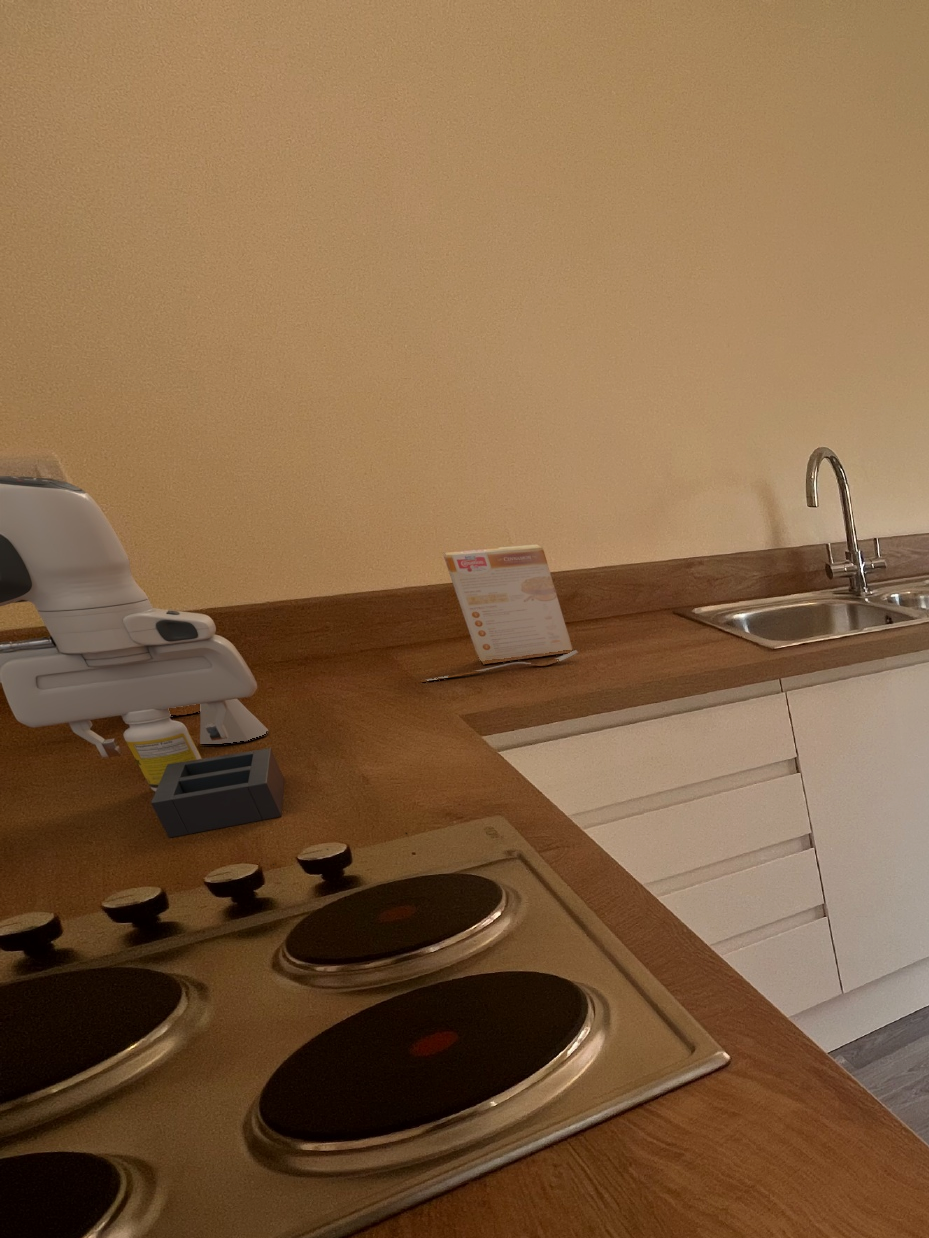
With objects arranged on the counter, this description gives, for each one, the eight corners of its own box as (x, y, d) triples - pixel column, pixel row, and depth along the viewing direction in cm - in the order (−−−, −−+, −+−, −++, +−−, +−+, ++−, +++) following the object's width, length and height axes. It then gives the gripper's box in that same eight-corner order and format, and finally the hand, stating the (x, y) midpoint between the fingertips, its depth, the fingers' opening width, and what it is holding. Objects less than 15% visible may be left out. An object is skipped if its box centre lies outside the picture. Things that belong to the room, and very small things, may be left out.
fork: (420, 680, 164) (416, 670, 163) (578, 658, 178) (575, 649, 177) (422, 684, 161) (418, 673, 161) (582, 661, 175) (579, 652, 175)
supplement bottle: (166, 781, 117) (127, 704, 113) (221, 776, 119) (184, 699, 115) (141, 796, 113) (99, 715, 109) (199, 790, 114) (159, 710, 110)
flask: (219, 734, 136) (186, 664, 131) (280, 729, 138) (249, 660, 133) (189, 749, 129) (153, 676, 125) (253, 743, 131) (220, 672, 127)
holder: (168, 838, 101) (150, 802, 99) (183, 796, 113) (167, 764, 111) (281, 816, 106) (266, 782, 104) (284, 778, 118) (270, 747, 116)
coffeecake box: (567, 648, 187) (537, 543, 178) (574, 653, 182) (544, 546, 173) (477, 659, 178) (441, 550, 170) (482, 666, 173) (444, 553, 165)
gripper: (-36, 649, 100) (37, 773, 106) (224, 621, 111) (276, 734, 118) (-21, 640, 104) (48, 760, 110) (227, 614, 116) (277, 724, 122)
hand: (168, 747), depth 114 cm, fingers open, 8 cm apart
